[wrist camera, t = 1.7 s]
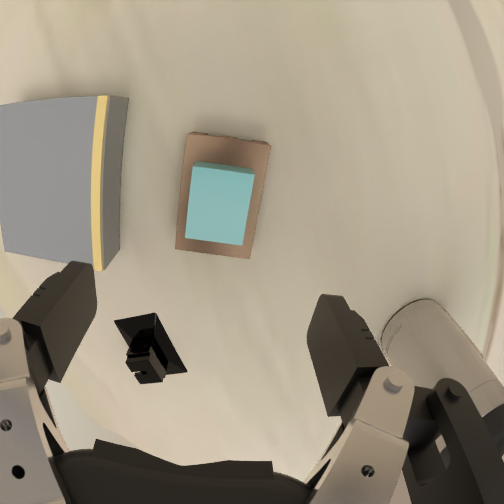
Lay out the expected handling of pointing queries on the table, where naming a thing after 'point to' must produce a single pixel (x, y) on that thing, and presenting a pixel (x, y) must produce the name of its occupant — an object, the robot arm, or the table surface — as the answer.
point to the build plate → (149, 349)
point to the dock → (62, 178)
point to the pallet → (226, 154)
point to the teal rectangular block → (219, 202)
